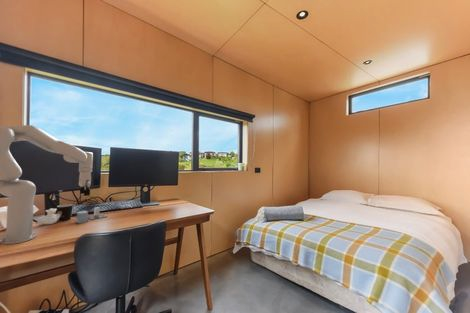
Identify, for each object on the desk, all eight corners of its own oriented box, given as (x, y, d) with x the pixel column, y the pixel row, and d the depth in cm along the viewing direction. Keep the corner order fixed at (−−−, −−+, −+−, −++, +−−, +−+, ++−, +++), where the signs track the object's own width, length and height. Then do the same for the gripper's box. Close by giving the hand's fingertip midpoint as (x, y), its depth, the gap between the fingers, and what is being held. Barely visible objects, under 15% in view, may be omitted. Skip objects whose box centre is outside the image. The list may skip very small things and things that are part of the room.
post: (90, 220, 140) (91, 210, 140) (86, 217, 146) (86, 207, 146) (106, 217, 148) (107, 207, 148) (102, 214, 154) (102, 205, 154)
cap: (78, 223, 132) (78, 213, 132) (76, 221, 136) (76, 212, 136) (87, 221, 136) (88, 212, 137) (85, 220, 140) (85, 210, 140)
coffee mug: (74, 219, 141) (75, 205, 141) (59, 222, 133) (59, 207, 133) (68, 216, 147) (68, 203, 147) (53, 219, 140) (53, 205, 140)
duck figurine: (38, 230, 125) (44, 217, 123) (33, 221, 127) (39, 208, 125) (60, 224, 136) (67, 212, 134) (55, 216, 138) (62, 204, 136)
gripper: (75, 169, 139) (74, 193, 139) (82, 170, 128) (81, 197, 128) (88, 169, 145) (87, 192, 145) (96, 170, 134) (95, 195, 134)
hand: (84, 194), depth 137 cm, fingers open, 9 cm apart
